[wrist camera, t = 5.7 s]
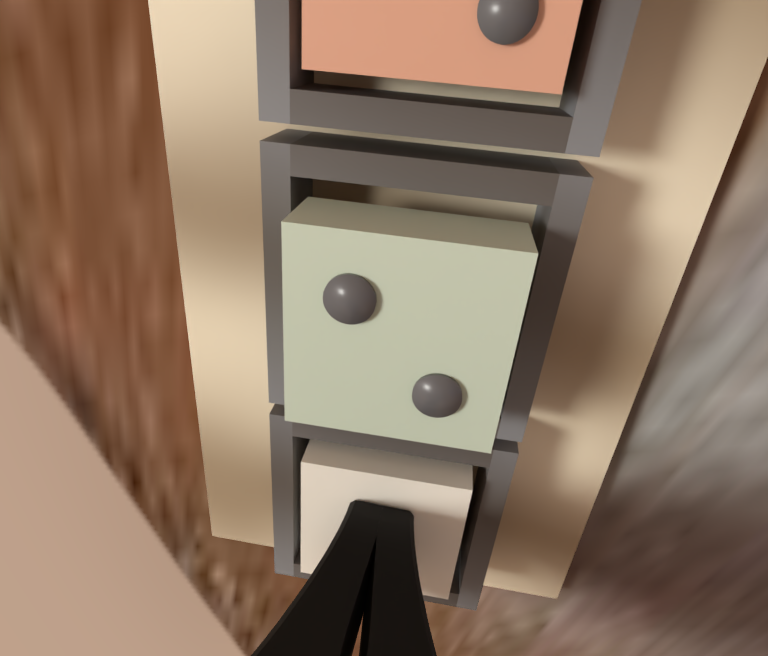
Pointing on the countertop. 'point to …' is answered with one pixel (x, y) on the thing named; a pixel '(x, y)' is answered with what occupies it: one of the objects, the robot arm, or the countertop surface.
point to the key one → (386, 503)
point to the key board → (454, 196)
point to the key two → (401, 319)
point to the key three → (444, 40)
